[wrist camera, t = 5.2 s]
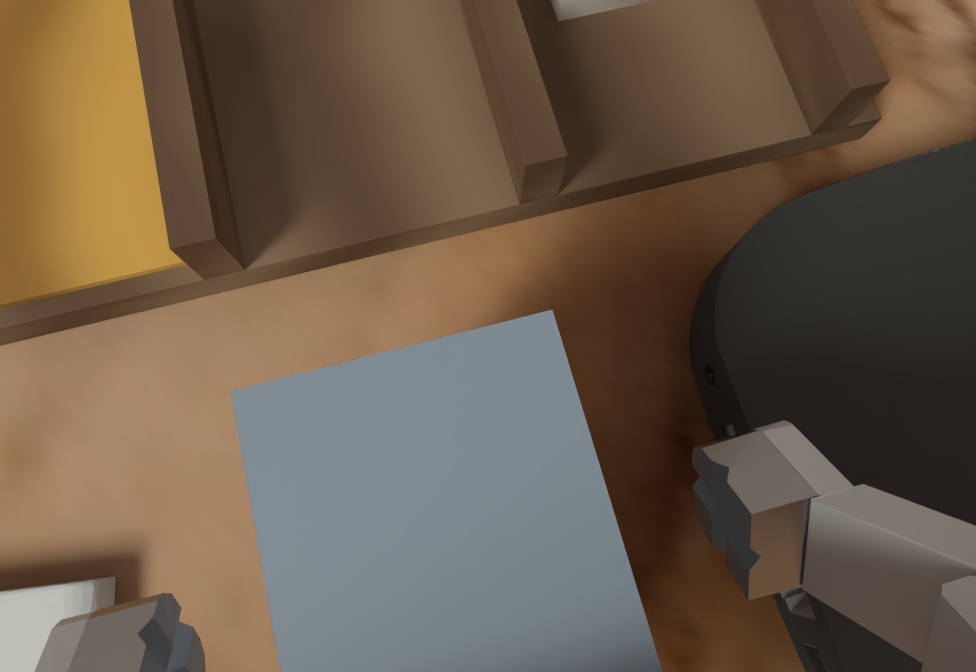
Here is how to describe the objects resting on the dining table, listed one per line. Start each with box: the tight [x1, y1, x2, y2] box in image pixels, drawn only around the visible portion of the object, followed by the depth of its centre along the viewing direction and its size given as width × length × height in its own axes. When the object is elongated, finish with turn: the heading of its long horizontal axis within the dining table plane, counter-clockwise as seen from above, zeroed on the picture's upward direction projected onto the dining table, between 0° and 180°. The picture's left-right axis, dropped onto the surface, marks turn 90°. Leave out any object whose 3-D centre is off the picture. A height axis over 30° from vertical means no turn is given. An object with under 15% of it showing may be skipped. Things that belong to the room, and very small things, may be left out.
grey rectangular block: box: [231, 310, 663, 672], centre depth 12 cm, size 4×6×9 cm, turn 15°
